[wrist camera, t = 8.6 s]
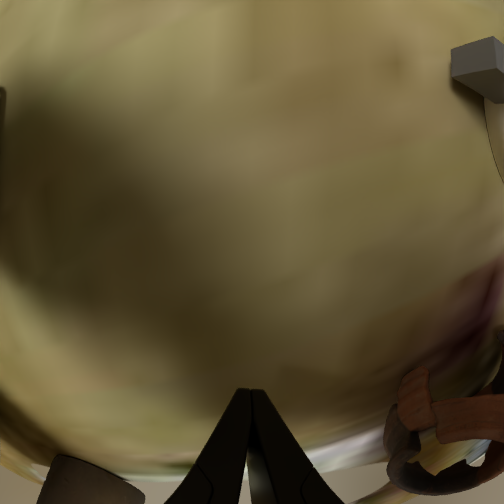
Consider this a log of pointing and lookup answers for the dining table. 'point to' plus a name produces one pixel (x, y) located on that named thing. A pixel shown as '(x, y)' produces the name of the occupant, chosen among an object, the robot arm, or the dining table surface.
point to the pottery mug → (444, 433)
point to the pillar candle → (85, 485)
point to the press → (485, 85)
